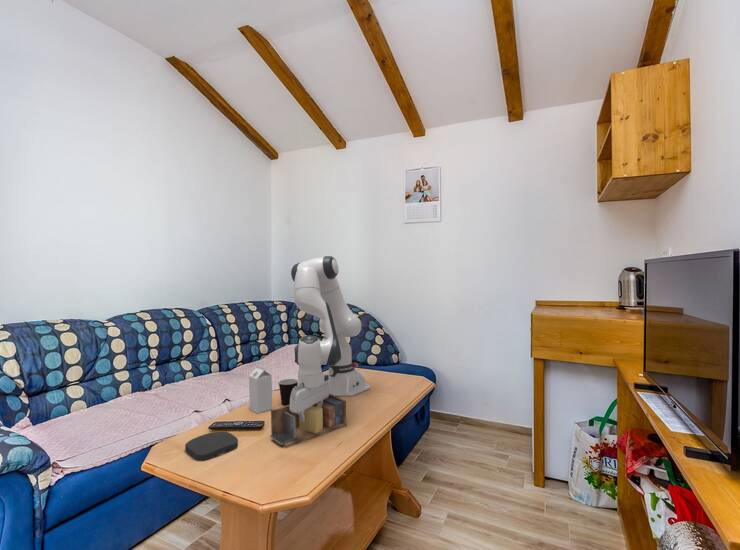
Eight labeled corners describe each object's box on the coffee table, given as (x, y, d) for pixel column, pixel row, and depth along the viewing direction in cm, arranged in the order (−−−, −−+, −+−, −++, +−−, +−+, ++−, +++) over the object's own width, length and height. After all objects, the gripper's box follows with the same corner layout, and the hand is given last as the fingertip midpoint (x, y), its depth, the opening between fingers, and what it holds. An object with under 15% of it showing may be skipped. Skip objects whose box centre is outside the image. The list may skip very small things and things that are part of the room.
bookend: (284, 432, 138) (284, 410, 138) (295, 439, 132) (295, 417, 132) (270, 437, 134) (269, 415, 134) (280, 444, 128) (280, 421, 128)
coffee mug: (291, 407, 165) (291, 385, 165) (275, 405, 168) (274, 383, 168) (305, 398, 176) (304, 377, 176) (289, 397, 179) (289, 376, 179)
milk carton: (264, 405, 169) (263, 363, 169) (272, 409, 164) (271, 366, 163) (249, 409, 164) (248, 366, 164) (257, 413, 159) (256, 369, 158)
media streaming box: (181, 449, 128) (181, 441, 128) (222, 435, 139) (222, 427, 139) (199, 464, 119) (199, 455, 118) (242, 448, 129) (242, 439, 129)
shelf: (330, 417, 153) (329, 393, 153) (346, 425, 145) (345, 400, 145) (271, 437, 136) (270, 410, 136) (286, 447, 128) (285, 418, 128)
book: (305, 425, 144) (305, 404, 144) (322, 429, 140) (322, 408, 140) (299, 429, 140) (298, 408, 140) (316, 433, 137) (316, 411, 136)
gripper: (298, 389, 129) (299, 428, 129) (332, 374, 147) (332, 408, 147) (284, 386, 132) (285, 425, 132) (319, 372, 150) (320, 406, 150)
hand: (310, 416), depth 140 cm, fingers open, 8 cm apart
